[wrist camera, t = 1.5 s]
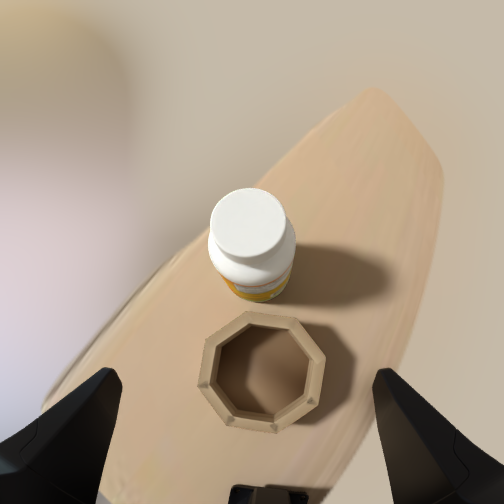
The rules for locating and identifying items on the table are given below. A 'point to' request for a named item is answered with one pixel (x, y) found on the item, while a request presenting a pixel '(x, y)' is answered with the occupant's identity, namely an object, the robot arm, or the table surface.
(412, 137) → the table surface
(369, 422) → the table surface
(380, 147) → the table surface
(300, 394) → the can holder
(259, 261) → the supplement bottle
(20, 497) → the robot arm
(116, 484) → the table surface
